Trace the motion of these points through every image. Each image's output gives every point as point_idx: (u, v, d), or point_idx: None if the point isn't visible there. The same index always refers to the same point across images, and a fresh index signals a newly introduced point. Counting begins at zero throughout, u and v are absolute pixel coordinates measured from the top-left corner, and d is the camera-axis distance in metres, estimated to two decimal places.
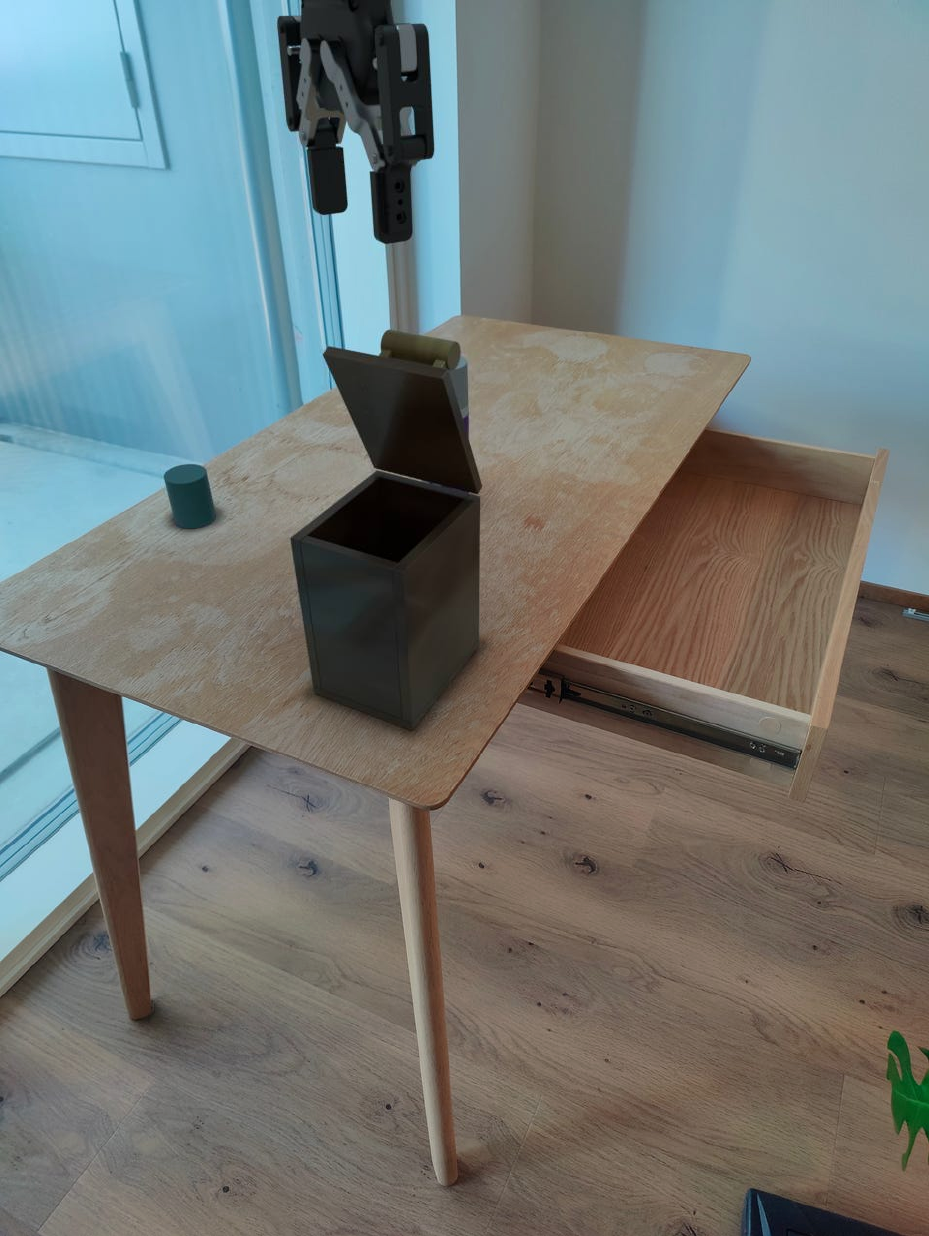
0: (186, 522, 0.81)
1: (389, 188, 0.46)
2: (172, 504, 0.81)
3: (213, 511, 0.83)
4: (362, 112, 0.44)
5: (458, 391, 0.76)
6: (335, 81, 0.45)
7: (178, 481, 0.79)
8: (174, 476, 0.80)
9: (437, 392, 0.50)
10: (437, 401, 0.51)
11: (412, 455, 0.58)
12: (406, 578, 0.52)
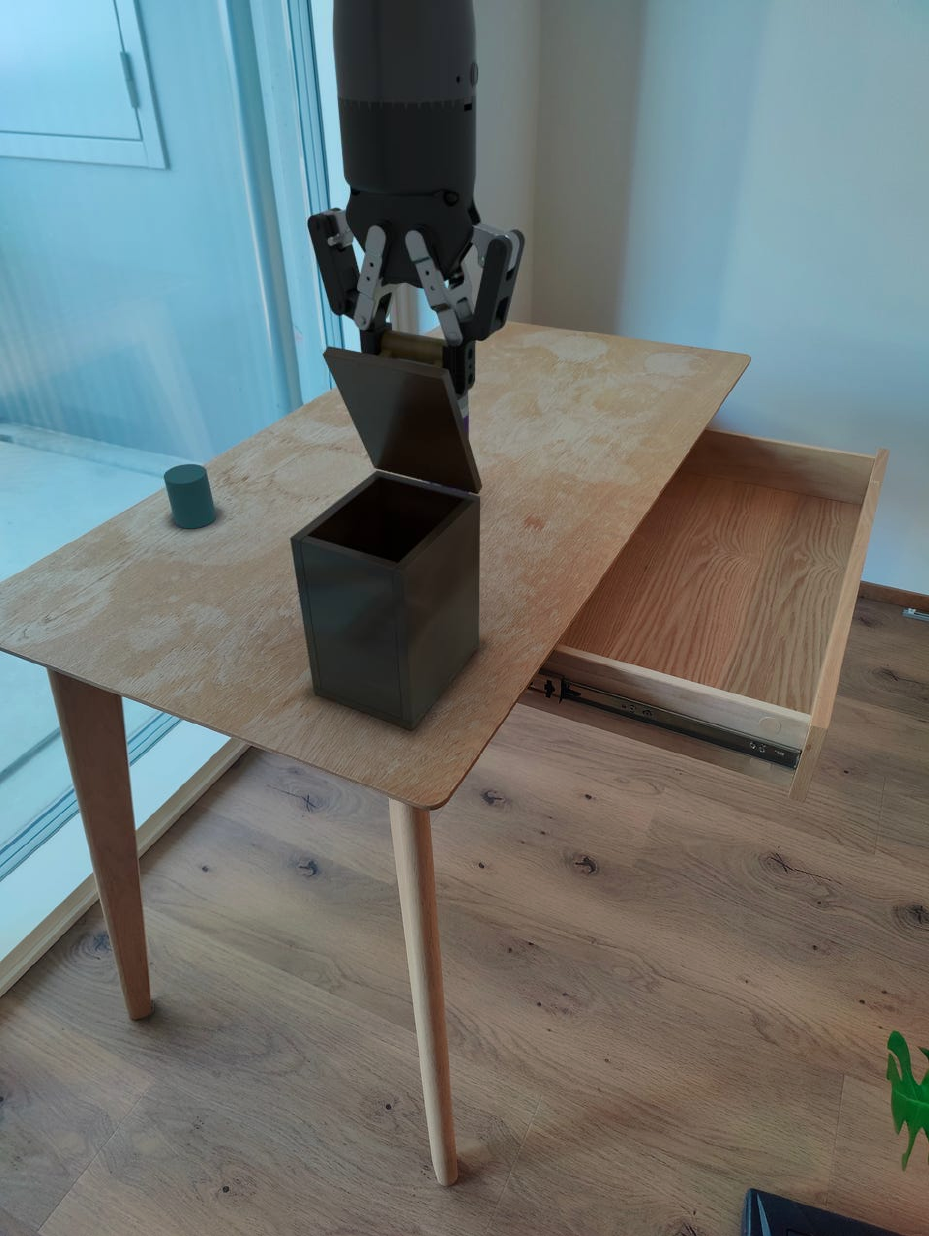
0: (186, 522, 0.81)
1: (464, 357, 0.52)
2: (172, 504, 0.81)
3: (213, 511, 0.83)
4: (448, 298, 0.49)
5: None
6: (418, 264, 0.48)
7: (178, 481, 0.79)
8: (174, 476, 0.80)
9: (437, 392, 0.50)
10: (437, 401, 0.51)
11: (412, 455, 0.58)
12: (406, 578, 0.52)
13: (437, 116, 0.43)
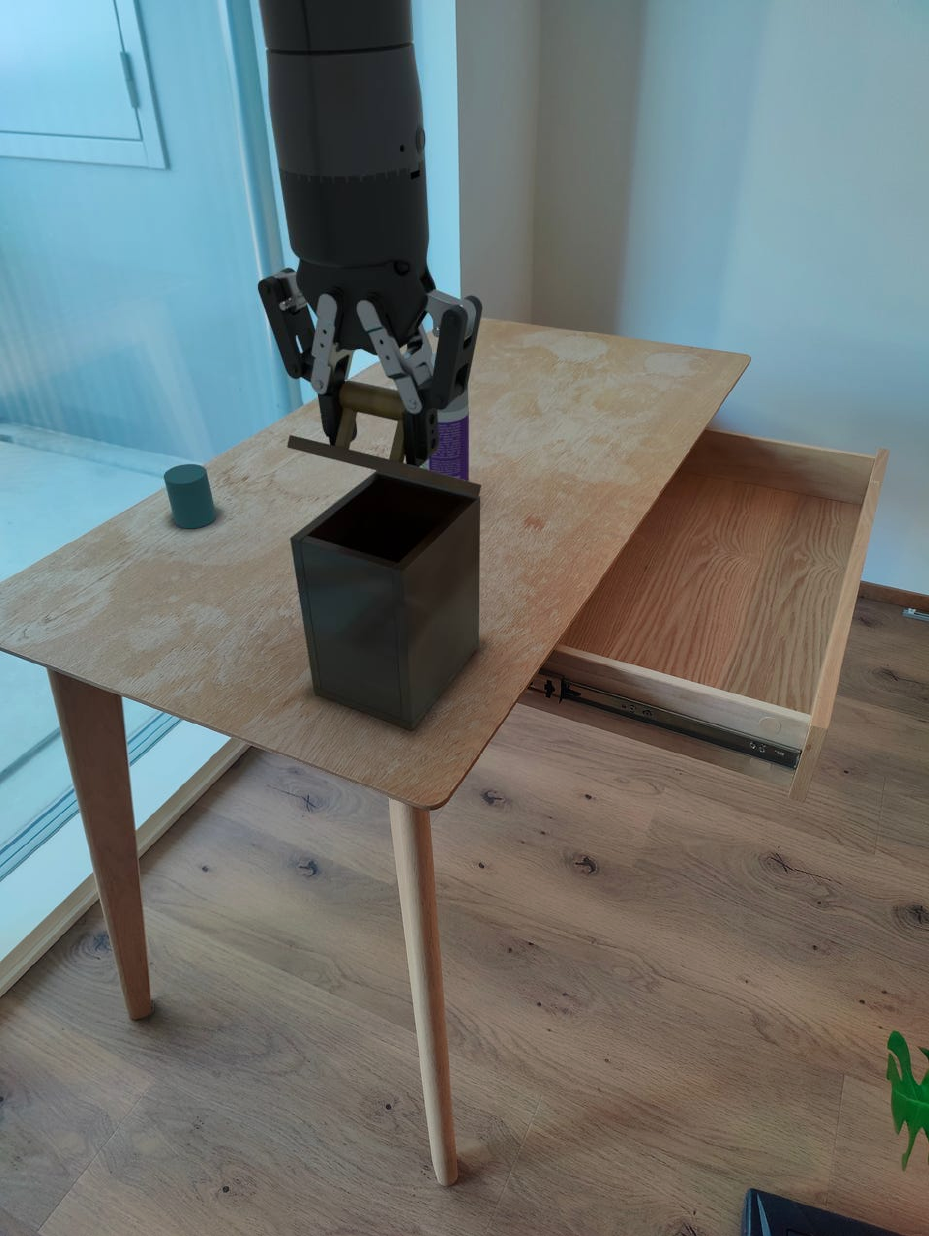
0: (186, 522, 0.81)
1: (425, 424, 0.50)
2: (172, 504, 0.81)
3: (213, 511, 0.83)
4: (405, 367, 0.47)
5: None
6: (372, 333, 0.46)
7: (178, 481, 0.79)
8: (174, 476, 0.80)
9: None
10: None
11: None
12: (406, 578, 0.52)
13: (381, 188, 0.40)
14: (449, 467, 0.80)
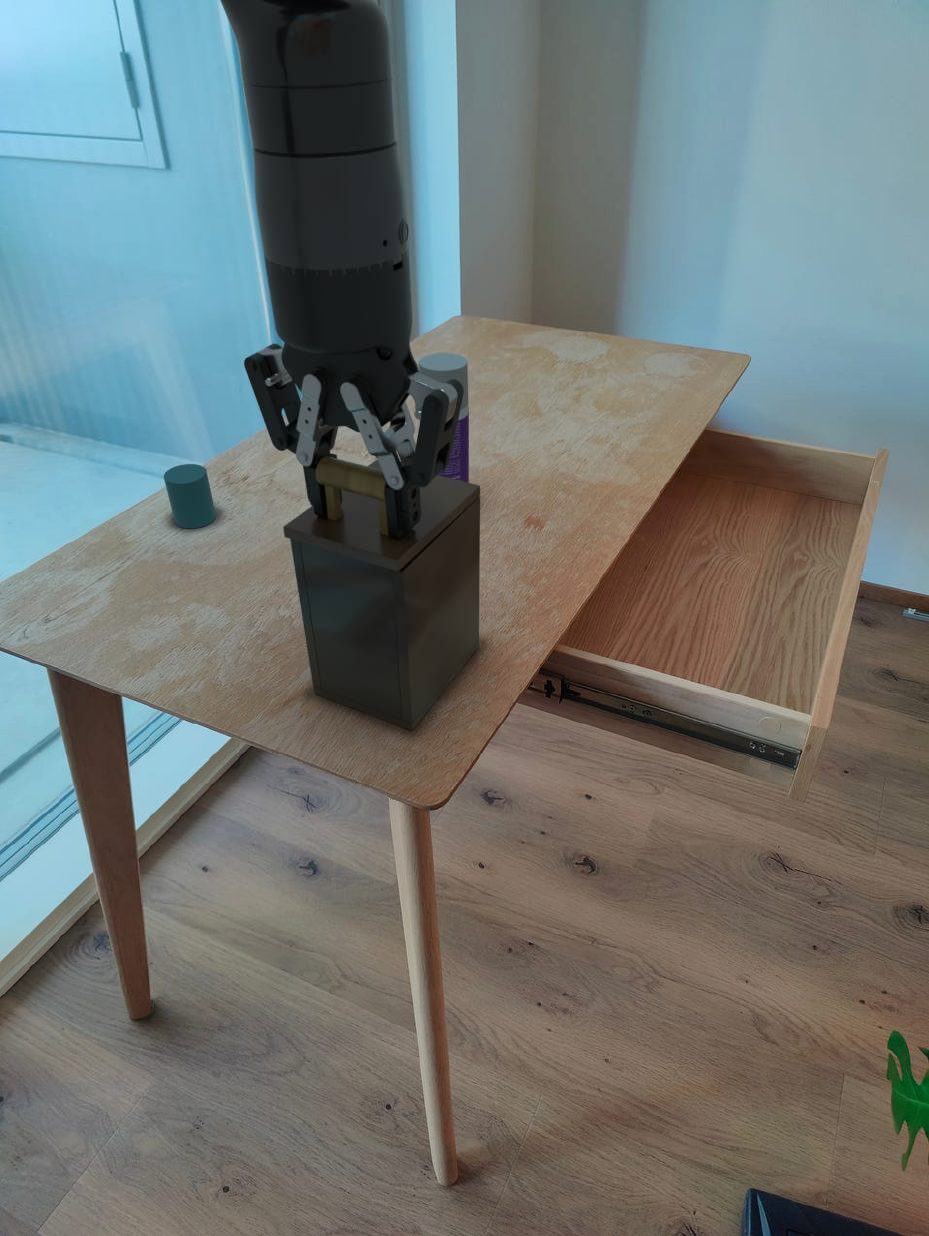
0: (186, 522, 0.81)
1: (407, 498, 0.50)
2: (172, 504, 0.81)
3: (213, 511, 0.83)
4: (387, 445, 0.48)
5: None
6: (355, 413, 0.47)
7: (178, 481, 0.79)
8: (174, 476, 0.80)
9: None
10: None
11: None
12: (406, 578, 0.52)
13: (364, 280, 0.41)
14: (449, 467, 0.80)
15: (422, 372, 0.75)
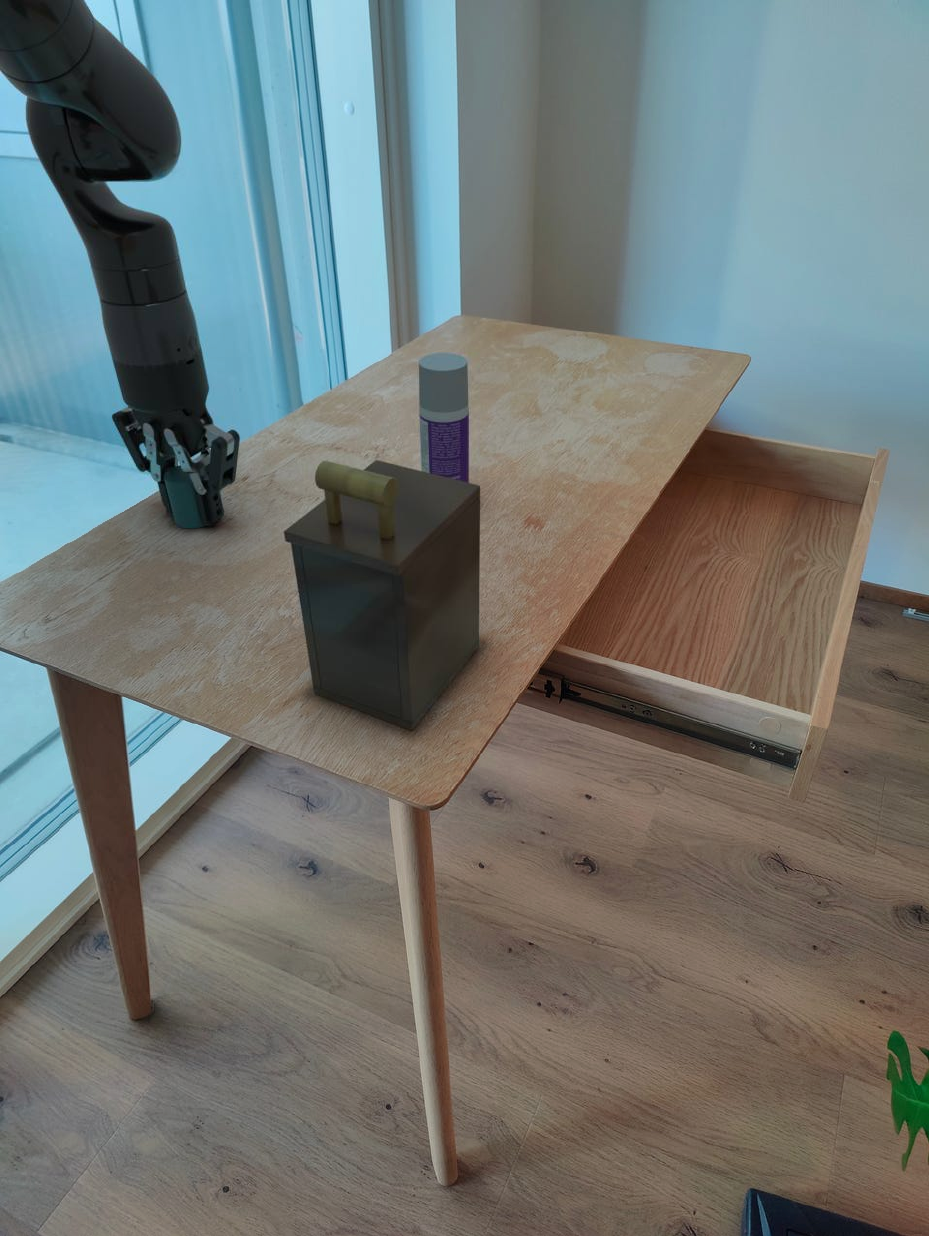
0: (186, 522, 0.81)
1: (210, 500, 0.80)
2: (172, 504, 0.81)
3: None
4: (194, 468, 0.77)
5: (458, 391, 0.76)
6: (173, 446, 0.76)
7: (178, 481, 0.79)
8: (174, 476, 0.80)
9: None
10: None
11: None
12: (406, 578, 0.52)
13: (167, 371, 0.71)
14: (449, 467, 0.80)
15: (422, 372, 0.75)
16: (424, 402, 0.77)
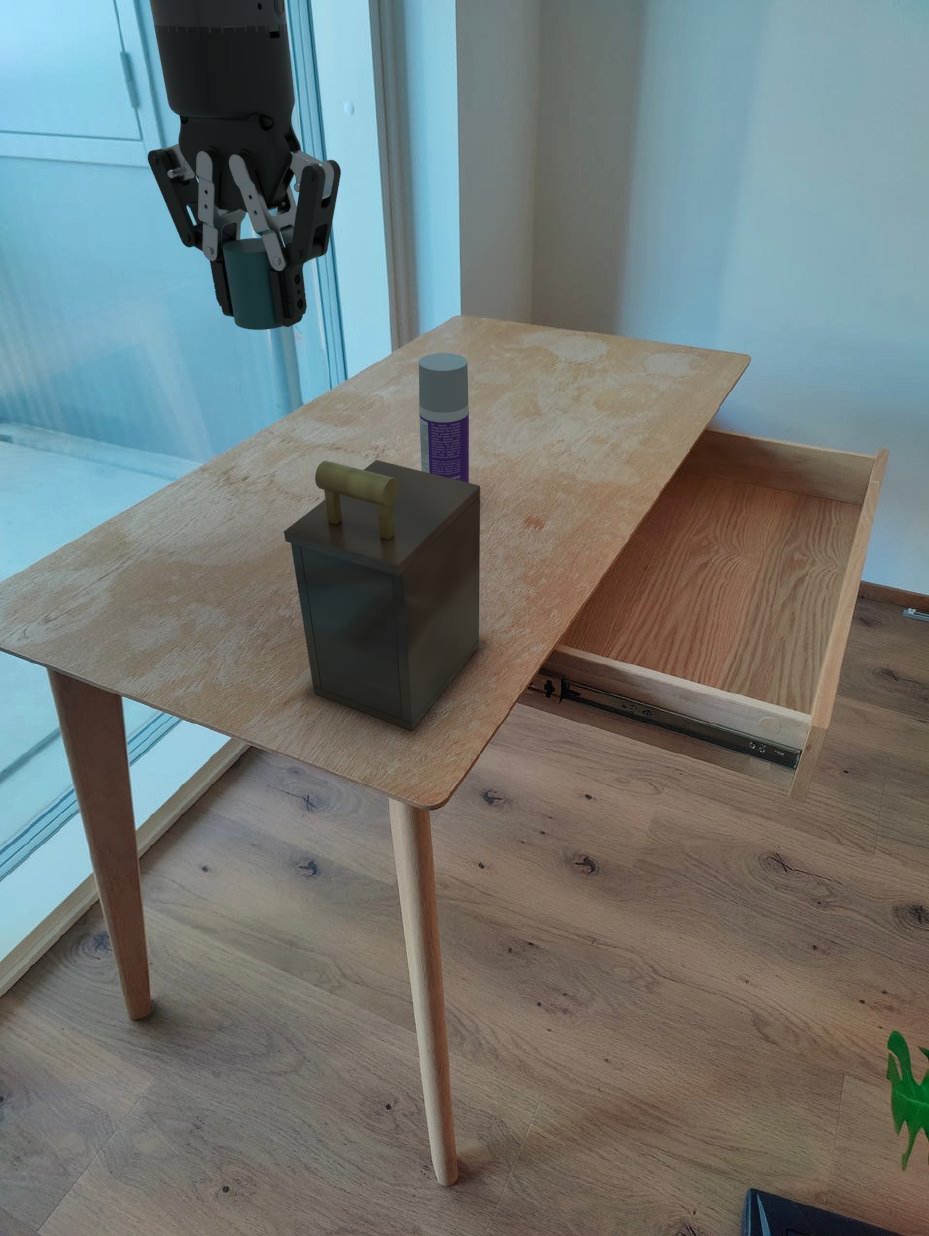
0: (253, 319, 0.57)
1: (291, 282, 0.55)
2: (234, 291, 0.56)
3: None
4: (271, 223, 0.53)
5: (458, 391, 0.76)
6: (242, 188, 0.52)
7: (244, 251, 0.54)
8: (238, 247, 0.55)
9: None
10: None
11: None
12: (406, 578, 0.52)
13: (241, 41, 0.46)
14: (449, 467, 0.80)
15: (422, 372, 0.75)
16: (424, 402, 0.77)
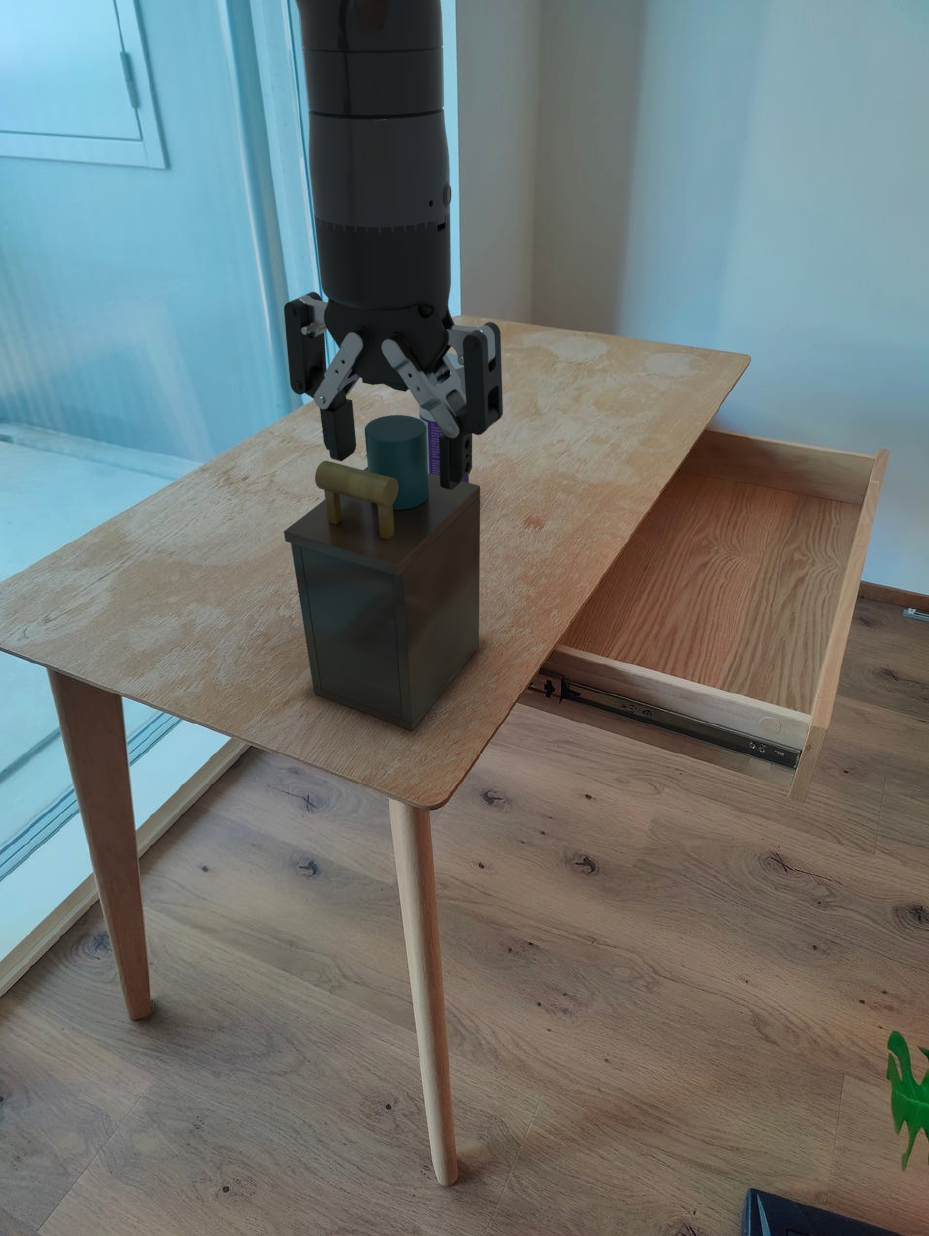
0: None
1: (461, 448, 0.52)
2: None
3: None
4: (436, 394, 0.50)
5: None
6: (400, 369, 0.49)
7: (390, 439, 0.53)
8: (381, 431, 0.54)
9: None
10: None
11: None
12: (406, 578, 0.52)
13: (410, 238, 0.44)
14: None
15: None
16: None
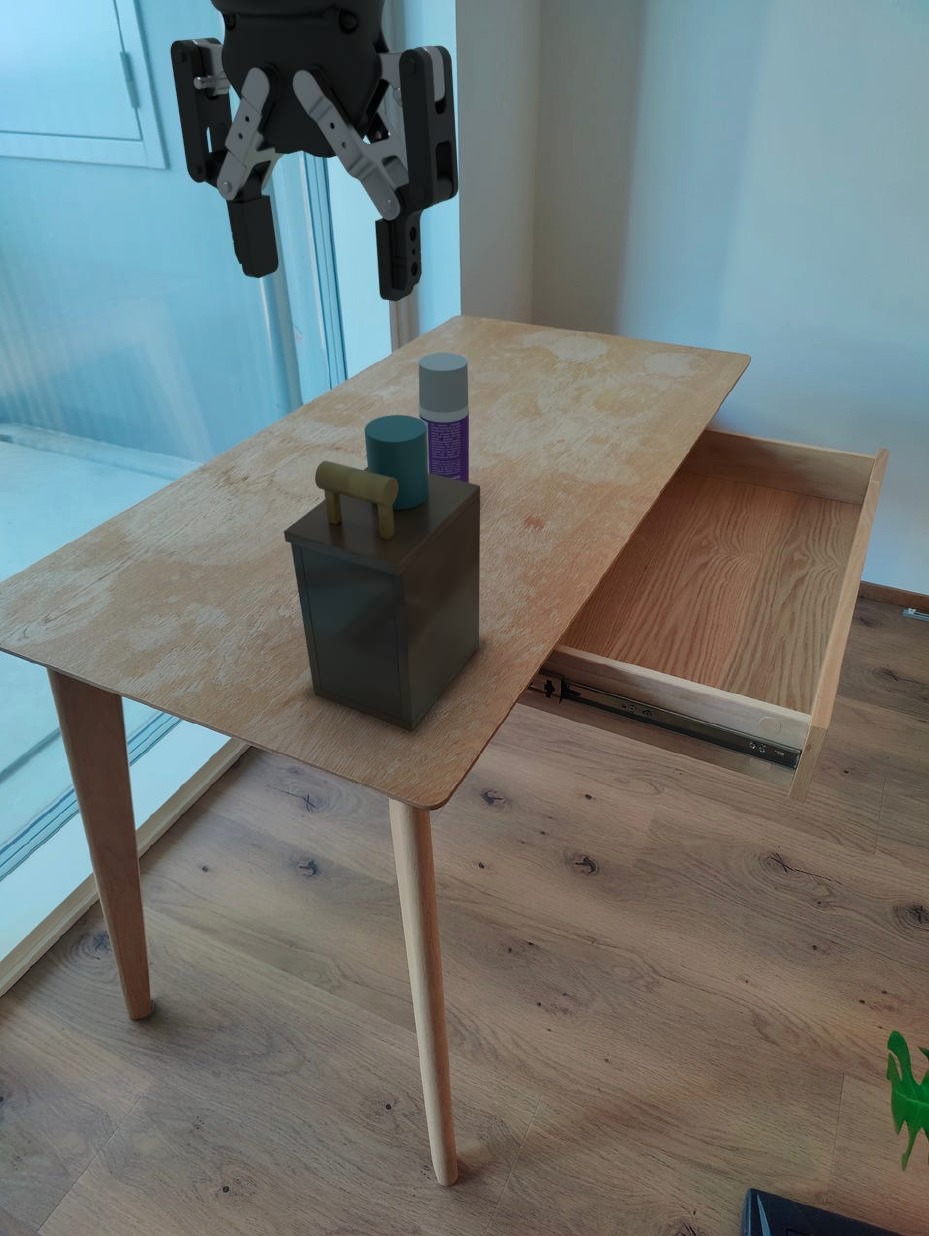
0: None
1: (405, 237, 0.39)
2: None
3: None
4: (368, 153, 0.37)
5: (458, 391, 0.76)
6: (319, 118, 0.37)
7: (390, 439, 0.53)
8: (381, 431, 0.54)
9: None
10: None
11: None
12: (406, 578, 0.52)
13: None
14: (449, 467, 0.80)
15: (422, 372, 0.75)
16: (424, 402, 0.77)
